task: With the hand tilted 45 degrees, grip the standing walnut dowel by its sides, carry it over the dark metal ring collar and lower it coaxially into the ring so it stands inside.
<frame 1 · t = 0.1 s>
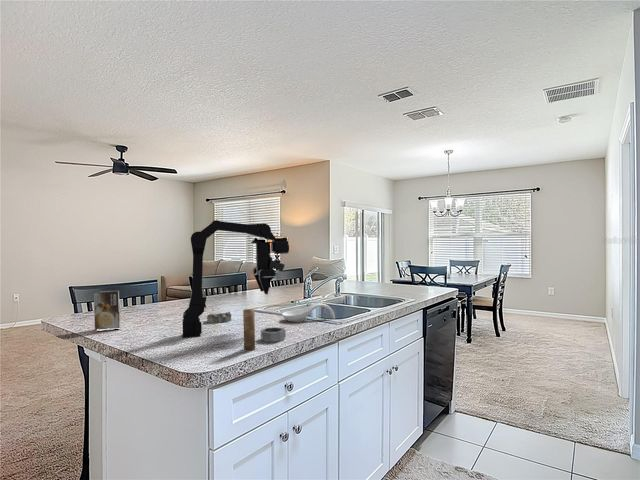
hand: (264, 292, 154), 15 cm above the worktop, tool pointing down, fingers open, 9 cm apart
spoon rest: (308, 320, 171), on the worktop
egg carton: (219, 321, 172), on the worktop
dowel: (249, 349, 124), on the worktop
coffee box: (107, 330, 158), on the worktop
ring: (273, 339, 137), on the worktop
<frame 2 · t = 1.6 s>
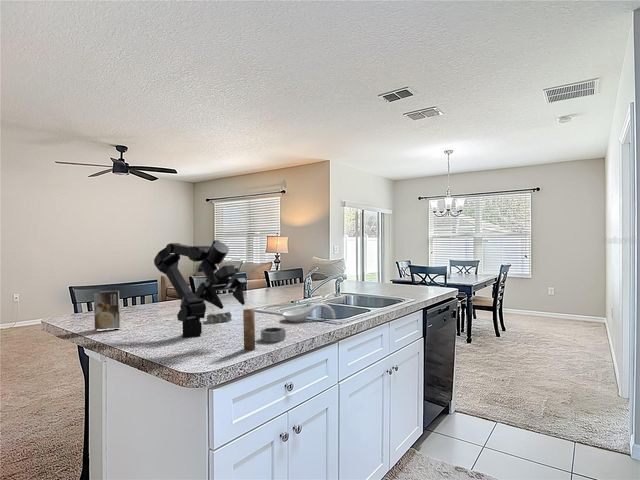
hand: (233, 306, 129), 13 cm above the worktop, tool tilted 45°, fingers open, 9 cm apart
nothing on the worktop moved.
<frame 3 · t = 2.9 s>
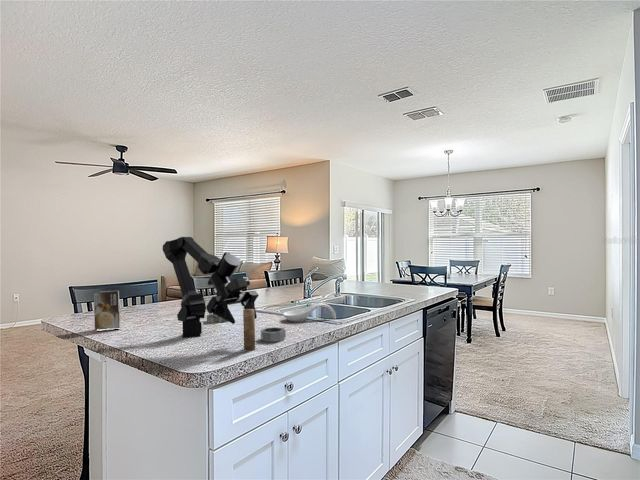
hand: (245, 320, 125), 9 cm above the worktop, tool tilted 45°, fingers open, 9 cm apart
nothing on the worktop moved.
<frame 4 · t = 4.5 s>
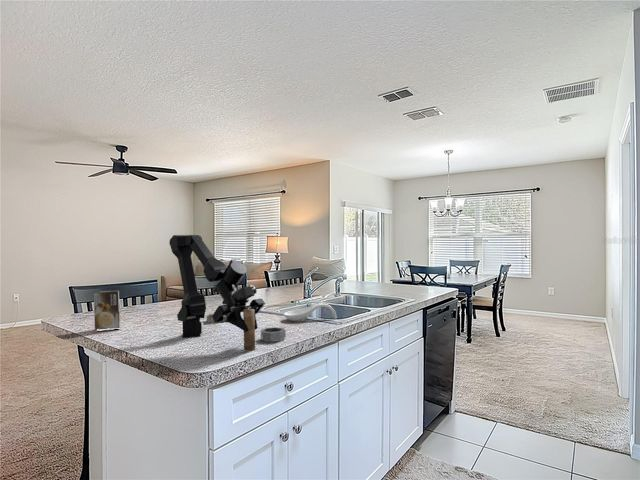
hand: (252, 329, 123), 7 cm above the worktop, tool tilted 45°, fingers closed on dowel, 4 cm apart
dowel: (249, 349, 124), on the worktop, touching gripper
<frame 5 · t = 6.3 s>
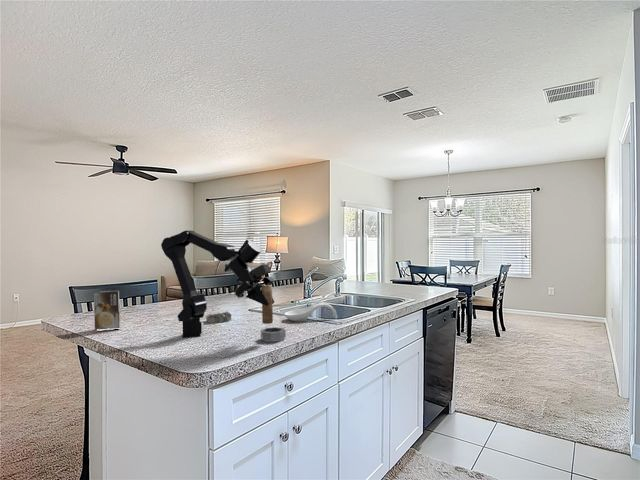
hand: (270, 304, 132), 13 cm above the worktop, tool tilted 45°, fingers closed on dowel, 4 cm apart
dowel: (267, 322, 133), point 7 cm above the worktop, touching gripper
when the fingers open (8 cm above the worktop, at t = 8.2 s): dowel stays where it is, resting on ring.
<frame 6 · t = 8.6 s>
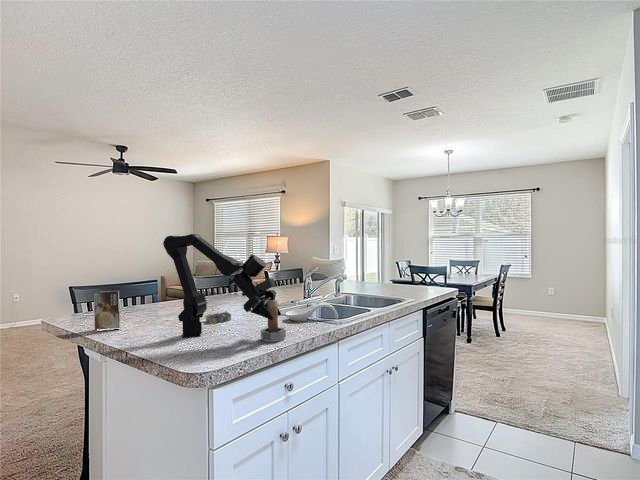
hand: (276, 316, 137), 8 cm above the worktop, tool tilted 45°, fingers open, 7 cm apart
dowel: (273, 336, 137), point 1 cm above the worktop, touching ring
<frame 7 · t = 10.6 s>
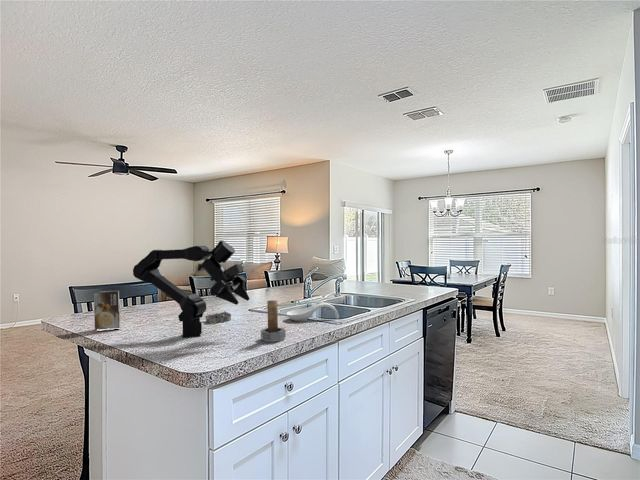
hand: (243, 301, 140), 13 cm above the worktop, tool tilted 45°, fingers open, 9 cm apart
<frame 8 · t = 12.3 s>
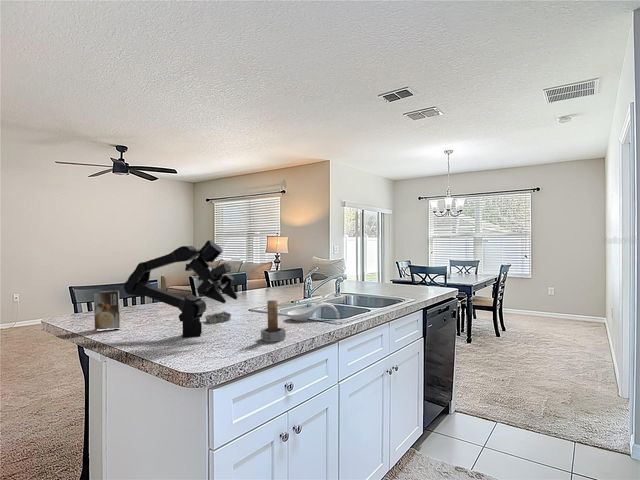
hand: (231, 300, 141), 14 cm above the worktop, tool tilted 45°, fingers open, 9 cm apart
at the end: dowel 0.0 cm off-centre on the ring, point 0.8 cm above the ring's base; dowel tilted 0°; the gripper is holding nothing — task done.
